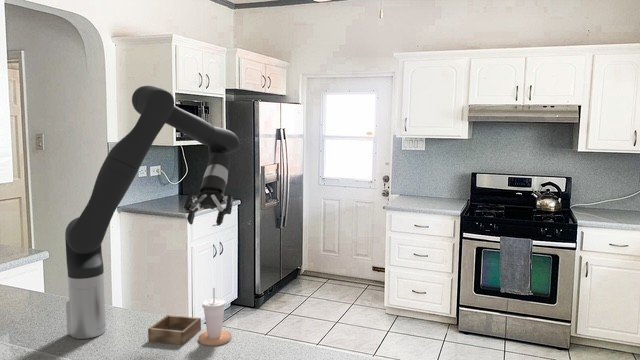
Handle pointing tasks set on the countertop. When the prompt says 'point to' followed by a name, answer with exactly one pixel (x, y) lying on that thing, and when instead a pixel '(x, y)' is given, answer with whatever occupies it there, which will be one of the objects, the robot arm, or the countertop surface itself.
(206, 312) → the smoothie
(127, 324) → the countertop surface
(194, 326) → the crate
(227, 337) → the peach glossy dome
